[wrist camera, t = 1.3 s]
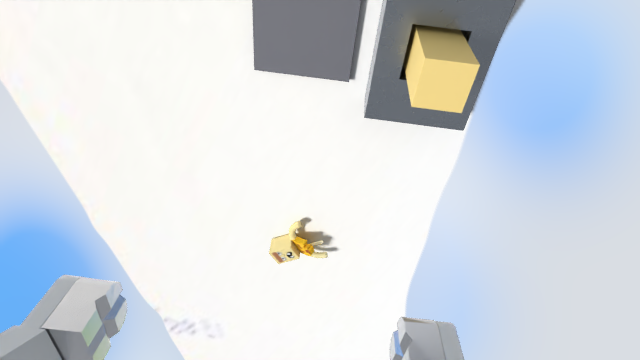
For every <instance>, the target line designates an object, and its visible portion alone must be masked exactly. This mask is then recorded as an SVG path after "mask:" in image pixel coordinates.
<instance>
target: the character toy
mask: <svg viewBox="0 0 640 360" xmlns="http://www.w3.org/2000/svg"><path fill="white" fill-rule="evenodd" d="M300 227H301V222H300V221H298V222H295V223H294V224H293V225H292V226H291V227H290V229H289V234H287V235H284V236H280V237H277V238H273V239H272V241H271V246H270V251H269V254H270V255H271V256H272V257H273V258H274V259H275V261H276V262H277V263H278V264H280V263H284V262H288V261H291V260H295V259H299V256H300V252H301V253H303V254H305V255H308V256H312V257H315V258H326V257H328V255H327V252H322V253H319V252H314V247H313V246H315V245H320V244H323V241H322V240H321V241H317V242H313V243H311V244H307V240H305V239H302V238H300V237H297V236H296V234H295V231H296V229H298V228H300Z"/></svg>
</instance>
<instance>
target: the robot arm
mask: <svg viewBox="0 0 640 360" xmlns="http://www.w3.org/2000/svg"><path fill="white" fill-rule="evenodd" d="M122 290H123V289H122V286H121V284H120V282H115V281H107V280H99V279H92V278H85V277H79V276H71V275H63V276H61V277H60V278H58V279H57V280H56V281H55V283H54V284H53V285H52V286H51V288H50V289H49V290H48V291H47V293H46V294H45V295H44V296H43V298H42V299H41V300H40V301H39V303H38V304H37V305H36V307H35V308H34V309H33V310H32V311H31V313H30V314H29V315H28V316H27V317H26V319H25V320H24V321H23V323H22V324H21V325H20V326H12V327H11V328H9V329H7V330H6V331H4V332H2V333H0V360H104V358H105V356H106V354H107V353H108V351H109V349H110V347H111V345H110V339H109V338H111V337H112V336H114V335H115V334H116V333H118V332H119V331H120V329H121V327H122V324H123V323H124V320H125V317H126V313H127V303H126V299H125V298H123V297H122V296H121V295H120V293H121V292H122ZM397 327H398V330H397V331H395V332H393V335H392V338H391V343H390V360H464V357H463V353H462V350H461V346H460V342H459V339H458V335H457V331H456V328H455V326H454V325H453V324H452V323H448V322H438V321H434V320H425V319H416V318H407V317H401V318H400V319H399V321H398V323H397Z"/></svg>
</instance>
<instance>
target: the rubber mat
mask: <svg viewBox="0 0 640 360" xmlns="http://www.w3.org/2000/svg"><path fill="white" fill-rule="evenodd" d="M252 3H253V37H254V70H260V71H268V72H275V73H283V74H291V75H299V76H307V77H314V78H322V79H330V80H338V81H346V82H349V78H350V71H351V64H352V58H353V51H354V44H355V38H356V31H357V24H358V18H359V11H360V4H361V0H252Z"/></svg>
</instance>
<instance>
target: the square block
mask: <svg viewBox="0 0 640 360" xmlns="http://www.w3.org/2000/svg"><path fill="white" fill-rule="evenodd" d="M403 62H404V68H405V73H406V79H407V85H408V90H409V96H410V102H411V107H417V108H425V109H433V110H440V111H448V112H456V113H462V111H463V108H464V105H465V103H466V100H467V98H468V95H469V92H470V90H471V87H472V85H473V82H474V79H475V77H476V74H477V72H478V69H479V67H480V64H479V62H478V60H477V59H476V57H475V55H474V53H473V52H472V50H471V48H470V46H469V44H468V43H467V41H466V39H465V37H464V36H463V34H462V32H461V30H457V29H449V28H441V27H433V26H425V25H417V24H412V28H411V33H410V37H409V41H408V45H407V49H406V53H405V57H404V61H403Z"/></svg>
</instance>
